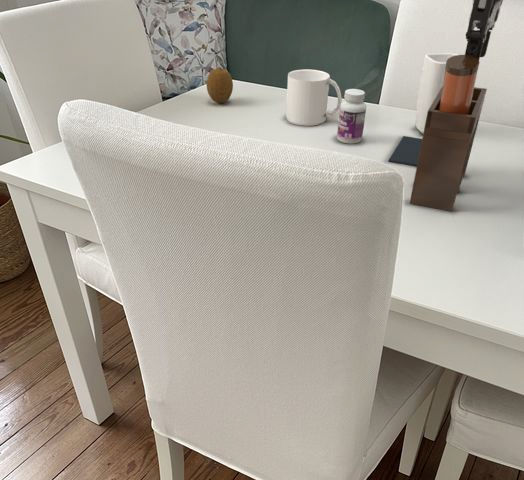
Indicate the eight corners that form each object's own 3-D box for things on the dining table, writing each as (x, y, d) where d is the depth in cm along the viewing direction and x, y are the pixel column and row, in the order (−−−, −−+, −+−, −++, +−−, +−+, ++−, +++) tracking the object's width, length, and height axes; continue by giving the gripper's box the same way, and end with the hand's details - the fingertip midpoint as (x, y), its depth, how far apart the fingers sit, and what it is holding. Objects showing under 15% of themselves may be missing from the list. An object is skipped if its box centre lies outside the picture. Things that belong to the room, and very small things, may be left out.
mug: (280, 122, 127) (281, 78, 121) (293, 110, 134) (295, 67, 127) (331, 130, 124) (336, 85, 118) (343, 117, 130) (347, 74, 124)
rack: (464, 175, 107) (486, 88, 97) (451, 211, 96) (475, 117, 86) (426, 169, 109) (444, 83, 99) (409, 203, 98) (427, 110, 88)
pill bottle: (331, 139, 120) (335, 91, 114) (347, 133, 123) (352, 85, 117) (351, 146, 117) (357, 97, 111) (367, 140, 120) (373, 91, 114)
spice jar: (470, 113, 91) (482, 56, 85) (464, 128, 89) (476, 70, 82) (440, 110, 93) (449, 53, 86) (434, 125, 90) (443, 67, 83)
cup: (408, 126, 126) (422, 53, 117) (439, 125, 127) (455, 52, 118) (421, 138, 121) (436, 63, 111) (453, 137, 122) (471, 61, 112)
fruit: (207, 99, 139) (205, 63, 134) (232, 98, 139) (231, 63, 134) (207, 107, 134) (206, 71, 129) (234, 107, 135) (233, 70, 130)
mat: (439, 143, 119) (439, 141, 119) (427, 168, 109) (427, 166, 109) (403, 137, 121) (403, 135, 121) (388, 161, 111) (388, 159, 111)
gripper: (526, -57, 74) (491, 77, 84) (535, -66, 84) (503, 55, 94) (467, -60, 76) (441, 70, 87) (483, -69, 86) (457, 49, 97)
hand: (473, 62), depth 91 cm, fingers open, 8 cm apart
